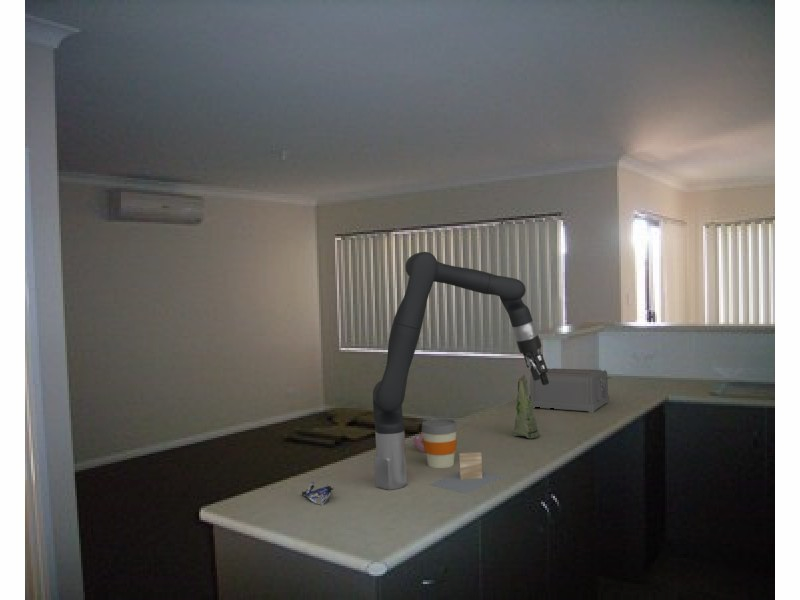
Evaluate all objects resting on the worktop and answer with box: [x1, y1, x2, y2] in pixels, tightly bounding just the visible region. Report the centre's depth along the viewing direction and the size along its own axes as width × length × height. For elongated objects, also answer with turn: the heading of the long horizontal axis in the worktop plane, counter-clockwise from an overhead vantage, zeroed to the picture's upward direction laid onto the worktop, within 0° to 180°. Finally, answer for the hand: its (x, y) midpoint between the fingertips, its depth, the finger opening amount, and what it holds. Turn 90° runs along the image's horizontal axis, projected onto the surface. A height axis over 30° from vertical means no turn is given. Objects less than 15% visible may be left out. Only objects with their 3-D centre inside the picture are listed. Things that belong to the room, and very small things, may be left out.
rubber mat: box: [428, 471, 504, 495], centre depth 192 cm, size 20×15×1 cm
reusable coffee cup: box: [421, 418, 458, 469], centre depth 211 cm, size 13×13×15 cm
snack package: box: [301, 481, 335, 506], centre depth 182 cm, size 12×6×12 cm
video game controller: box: [412, 433, 425, 453], centre depth 235 cm, size 10×5×7 cm, turn 141°
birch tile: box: [458, 451, 483, 479], centre depth 194 cm, size 2×7×8 cm, turn 93°
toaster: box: [529, 368, 613, 413], centre depth 308 cm, size 31×36×17 cm
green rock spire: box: [513, 374, 540, 439], centre depth 248 cm, size 11×12×25 cm
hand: (541, 382), depth 202 cm, fingers open, 8 cm apart
